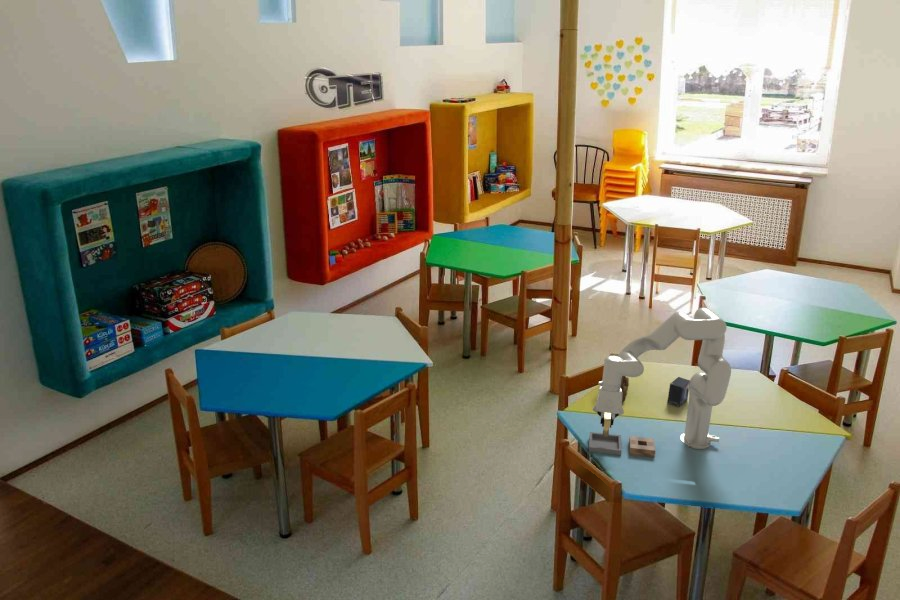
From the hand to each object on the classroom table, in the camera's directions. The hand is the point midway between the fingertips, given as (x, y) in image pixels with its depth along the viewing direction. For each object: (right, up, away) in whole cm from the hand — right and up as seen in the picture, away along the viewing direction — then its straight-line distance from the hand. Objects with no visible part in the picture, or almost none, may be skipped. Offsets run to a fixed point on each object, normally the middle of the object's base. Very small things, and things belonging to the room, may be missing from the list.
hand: (606, 425), depth 323 cm
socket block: (+15, -11, +1) cm, 18 cm away
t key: (0, -4, +1) cm, 5 cm away
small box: (+43, +4, +46) cm, 63 cm away
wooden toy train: (+15, +7, +52) cm, 55 cm away
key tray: (0, -10, +3) cm, 10 cm away
